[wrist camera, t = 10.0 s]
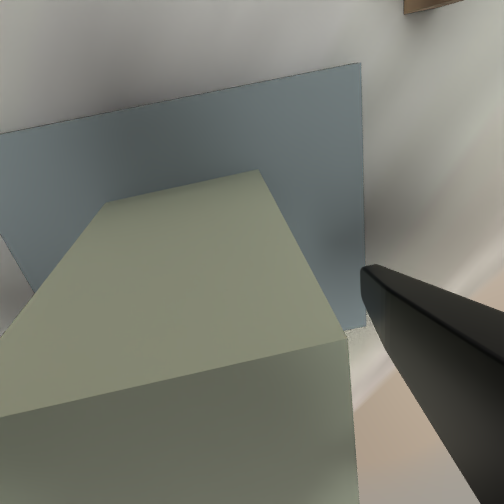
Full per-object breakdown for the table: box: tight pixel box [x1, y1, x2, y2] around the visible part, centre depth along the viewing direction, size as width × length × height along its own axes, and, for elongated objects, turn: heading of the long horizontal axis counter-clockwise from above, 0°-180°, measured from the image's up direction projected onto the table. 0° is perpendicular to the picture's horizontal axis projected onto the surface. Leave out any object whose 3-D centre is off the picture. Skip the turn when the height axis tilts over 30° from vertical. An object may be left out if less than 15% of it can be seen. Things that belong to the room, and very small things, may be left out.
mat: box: [0, 63, 366, 331], centre depth 12 cm, size 12×10×1 cm
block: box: [0, 169, 359, 504], centre depth 9 cm, size 5×5×8 cm
